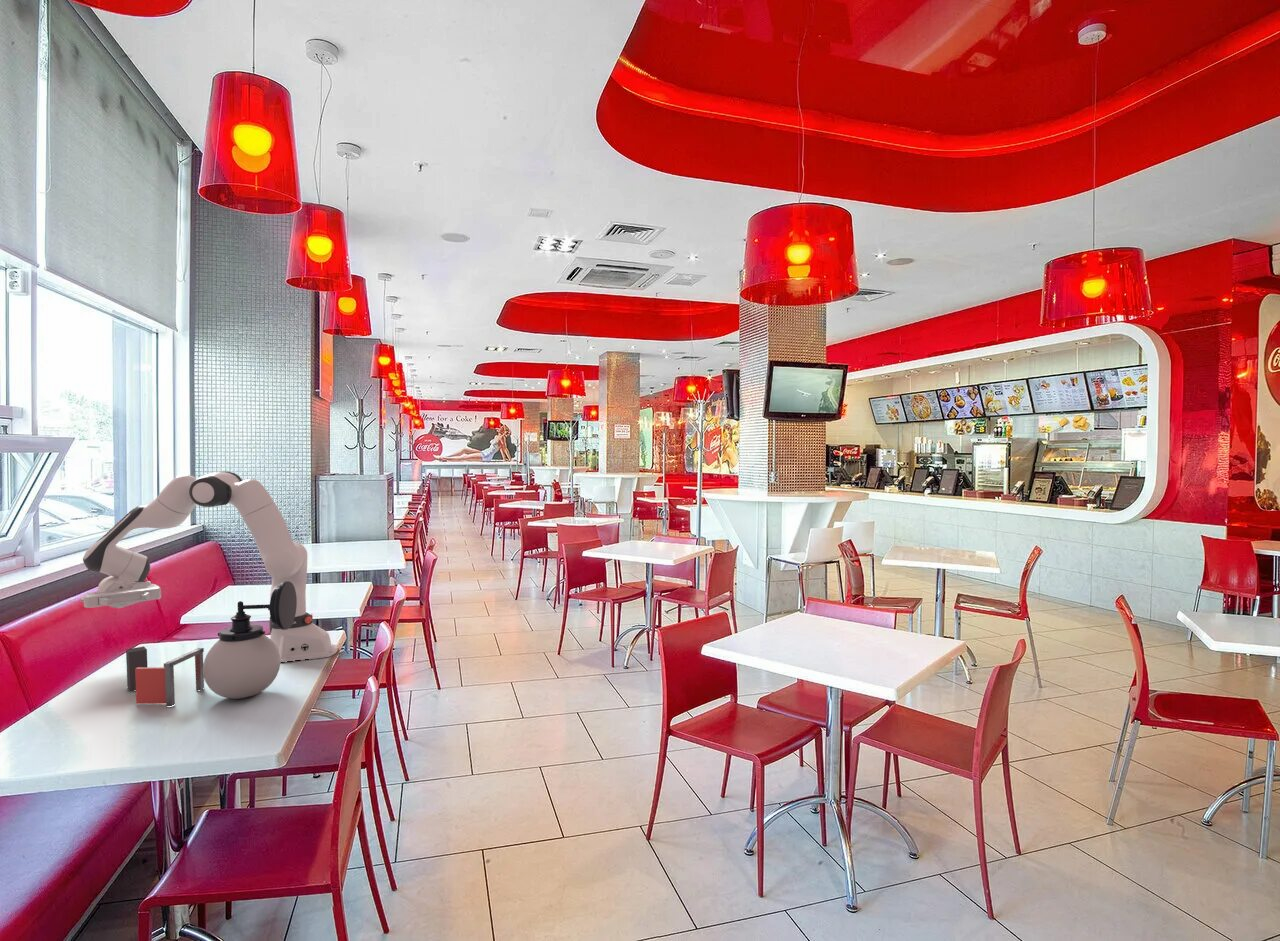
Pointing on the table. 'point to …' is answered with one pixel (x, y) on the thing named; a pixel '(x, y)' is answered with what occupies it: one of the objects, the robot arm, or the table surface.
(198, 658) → the frame
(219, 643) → the light fixture
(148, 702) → the red square panel
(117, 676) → the table surface
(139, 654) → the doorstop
